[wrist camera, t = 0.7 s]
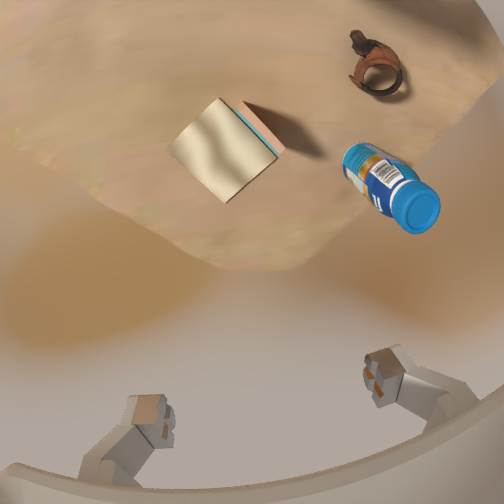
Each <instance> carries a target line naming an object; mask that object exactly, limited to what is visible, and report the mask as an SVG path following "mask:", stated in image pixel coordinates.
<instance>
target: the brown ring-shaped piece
mask: <svg viewBox="0 0 504 504" xmlns="http://www.w3.org/2000/svg"><path fill="white" fill-rule="evenodd" d="M350 37H351V39H352V41H353V45H352V48H353V49H354V51H355V52H356V54H358V55H360V56H366V58H365V59H362V58H360V59H359V61H358V64H357V65H356V69H355V72H354V77H352V76H351V75H349V78H350V79H351V80H352V82H353V83H354V84H355V85H356V86H357V87H358V88H360V89H362V90H364V91H365V92H367V93H369V94H371V95H374V96H386V95H390V94H392V93H394V92H395V91H397V89H398V88H399V87H400V85H401V83H402V80H403V79H402V70H401V69H399V68H398V66H399V64H400V61H399V58H398V56H397V55H396V54H395V52H394V51H393V50H392V49H391V48H390V47H388V46H386V45H384V44H382V43H380V42H378V41H376V40H372V39H366V38H365V36H364V35H363V34H362V32H361V31H360V30H353V31H352V32H351V34H350ZM374 45H375V46H374ZM375 64H386V65H389V66H391V67H392V68H393V69H394V70H395V71H396V73H397V79H396V82H395V83H394V84H393V85H392V86H391V87H390V88H388V89H385V90H373V89H371V88H369V87H367V86H366V85H364V84H363V83H362V82H363V81H364V74H365V72H366V70H367V69H368V68H370V67H371V66H373V65H375Z"/></svg>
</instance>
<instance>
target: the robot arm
mask: <svg viewBox="0 0 504 504" xmlns="http://www.w3.org/2000/svg"><path fill="white" fill-rule="evenodd" d="M364 362H365V364H366V367H365V368H364V370H363V377H364V382H365V385H366V387H367V389H368V390H370V391H372V392H373V394H372V398H373V400H374V402H375V404H376V406H377V407H378V408H380V407H383V406H386V405H389V404H392V403H394V402H396V403H397V404H399V405H401V406H402V407H404V408H406V409H407V410H409V411H411V412H413V413H414V414H416V415H418V416H419V417H421V418H423V419H425V420H426V421H428V422H427V424H426V426H425V428H424V430H423V432H422V434H420V435H418V436H416V437H414V438H412V439H410V440H408V441H405V442H403V443H401V444H398V445H396V446H394V447H391V448H389V449H386V450H384V451H381V452H379V453H376V454H373V455H371V456H368V457H365V458H362V459H359V460H357V461H353V462H350V463H347V464H344V465H340V466H337V467H334V468H330V469H326V470H323V471H319V472H315V473H311V474H307V475H302V476H298V477H293V478H288V479H283V480H278V481H272V482H266V483H259V484H253V485H244V486H235V487H223V488H209V489H154V488H143V487H142V486H141V485H140V484H139V483H138V482H137V481H135V480H134V479H133V478H134V477H135V475H136V474H137V473H138V471H139V470H140V469H141V467H142V466H143V465H144V463H145V462H146V461H147V459H148V458H149V456H150V455H151V454H152V452H153V451H154V449H162V448H173V443H174V434H173V433H172V430H173V429H174V428H175V414H174V411H173V409H172V407H171V406H170V405H168V404H167V398H166V397H165V395H163V394H156V395H130V396H129V397H128V398H127V401H126V405H125V409H124V413H123V416H122V420H121V424H120V425H117V426H116V427H114V428H113V429H112V430H111V431H110V432H109V433H108V434H107V435H106V436H105V437H104V438H103V439H102V440H100V441H99V442H98V443H97V444H96V445H95V446H94V447H93V448H92V449H91V450H90V451H89V452H88V453H87V454H86V455H84V457H83V461H82V464H81V468H80V471H79V475H78V479H76V478H71V477H66V476H63V475H58V474H54V473H51V472H47V471H44V470H40V469H37V468H34V467H31V466H27V465H25V464H21V463H13V464H11V465H9V466H8V467H6V468H5V469H4V470H2V471H1V472H0V504H504V384H503V385H502V386H501V387H499V388H498V389H496V390H495V391H494V392H492V393H491V394H489V395H488V396H486V397H485V398H484V399H482V400H481V401H480V400H479V399H478V398H477V397H476V395H475V394H474V393H473V392H472V390H471V389H470V388H469V387H468V385H467V384H466V383H465V382H462V381H460V380H457V379H454V378H451V377H449V376H446V375H443V374H441V373H437V372H435V371H432V370H430V369H427V368H425V367H422V366H420V367H418V366H417V365H416V364H415V363H414V361H413V360H412V359H411V357H410V356H409V355H408V354H407V352H406V351H405V350H404V349H403V347H402V346H401V345H400V344H396V345H393V346H390V347H388V348H384V349H382V350H378V351H376V352H373V353H370V354H367V355H366V356H365V361H364Z"/></svg>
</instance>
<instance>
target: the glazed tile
mask: <svg viewBox="0 0 504 504" xmlns="http://www.w3.org/2000/svg"><path fill="white" fill-rule="evenodd" d="M235 110H236V112H237V114H238V115H239V116H240V118H241V119H242V120H243V121H244V122H245V123H246V124H247V125H248V126H249V127H250V128H251V129H252V130H253V131H254V132H255V133H256V134H257V135H258V136H259V137H260V138H261V139H262V140H263V141H264V142H265V143H266V145H267V146H268V147H269V148H270V149H271V150H272V151H273V152H274V153H275V154H276V155H277V156H278V155H280V154H281V153H282V152H283V151H284V150H286V148H285V147H284V146H283V144H282V143H281V142H280V141H279V140H278V138H277V137H276V136H275V135H274V134H273V133H272V132H271V131H270V130H269V129H268V127H267V126H266V125H265V124H264V123H263V122H262V121H261V120H260V119H259V118H258V117H257V116H256V115H255V114H254V113H253V112H252V111H251V110H250V108H249V107H248V106H247V105H246V104H245V103H244V102H243V101H241V102H240V103H239V104H238V105H237V106H236V107H235Z"/></svg>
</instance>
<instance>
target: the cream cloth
mask: <svg viewBox="0 0 504 504" xmlns="http://www.w3.org/2000/svg"><path fill="white" fill-rule="evenodd" d="M165 150H166V151H167V152H168V153H169V154H170V155H172V156H173V157H174V158H175V159H176V160H177V161H178V162H179V163H180V164H182V165H183V166H184V167H185V168H186V169H187V170H188V171H189V172H190V173H192V174H193V175H194V176H195V177H196V178H197V179H198V180H199V181H200V182H202V183H203V184H204V185H205V186H206V187H207V188H208V189H209V190H210V191H212V192H213V193H214V194H215V195H216V196H217V197H218V198H219V199H220V200H221V201H222V202H224V203H226V202H227V201H228V200H229V199H230V198H231V197H232V196H233V195H235V194H236V193H237V192H238V191H239V190H240V189H241V188H242V187H244V186H245V185H246V184H247V183H248V182H249V181H251V180H252V179H253V178H254V177H255V176H256V175H257V174H259V173H260V172H261V171H262V170H263V169H264V168H266V167H267V166H268V165H269V164H270V163H272V162H273V161H274V160H275V159H276V156H275V155H274V154H273V153H272V152H271V151H270V150H269V149H268V148H267V147H266V146H265V145H264V143H263V142H262V141H261V140H260V139H259V138H258V137H257V136H256V135H255V134H254V133H253V132H252V131H251V130H250V129H249V128H248V127H247V126H246V125H245V124H244V123H243V122H242V121H241V120H240V119H239V118H238V117H237V116H236V115H235V114H234V113H233V112H232V111H231V110H230V109H229V108H228V107H227V106H226V105H225V104H224V103H223V102H222V101H221V100H220V99H219V98H217V99H216V100H215V101H214V102H213V103H212V104H211V105H209V106H208V107H207V108H206V109H205V110H204V111H203V112H202V113H201V114H200V115H199V116H198V117H197V118H196V119H195V120H194V121H193V122H192V123H191V124H190V125H189V126H188V127H187V128H186V129H185V130H184V131H183V132H182V133H181V134H180V135H179V136H178V137H177V138H176V139H175V140H174V141H173V142H172V143H171V144H170V145H169V146H168V147H167V148H166V149H165Z"/></svg>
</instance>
